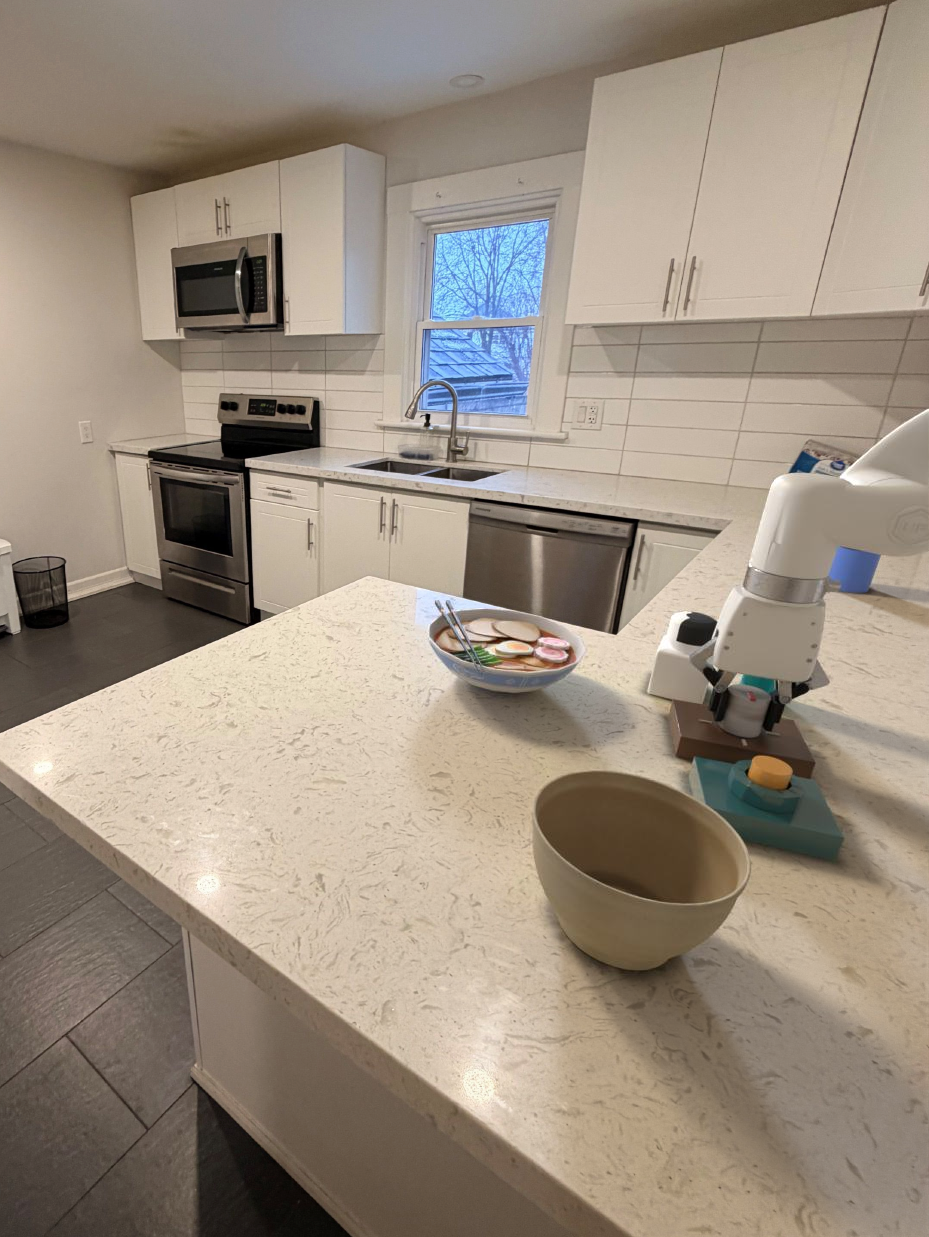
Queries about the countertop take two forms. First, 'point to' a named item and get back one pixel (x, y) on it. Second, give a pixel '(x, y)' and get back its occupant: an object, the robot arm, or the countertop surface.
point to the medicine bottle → (682, 658)
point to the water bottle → (854, 569)
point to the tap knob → (745, 710)
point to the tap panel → (735, 740)
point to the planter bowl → (634, 865)
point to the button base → (768, 808)
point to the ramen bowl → (504, 648)
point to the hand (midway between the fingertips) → (740, 719)
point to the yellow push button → (770, 772)
